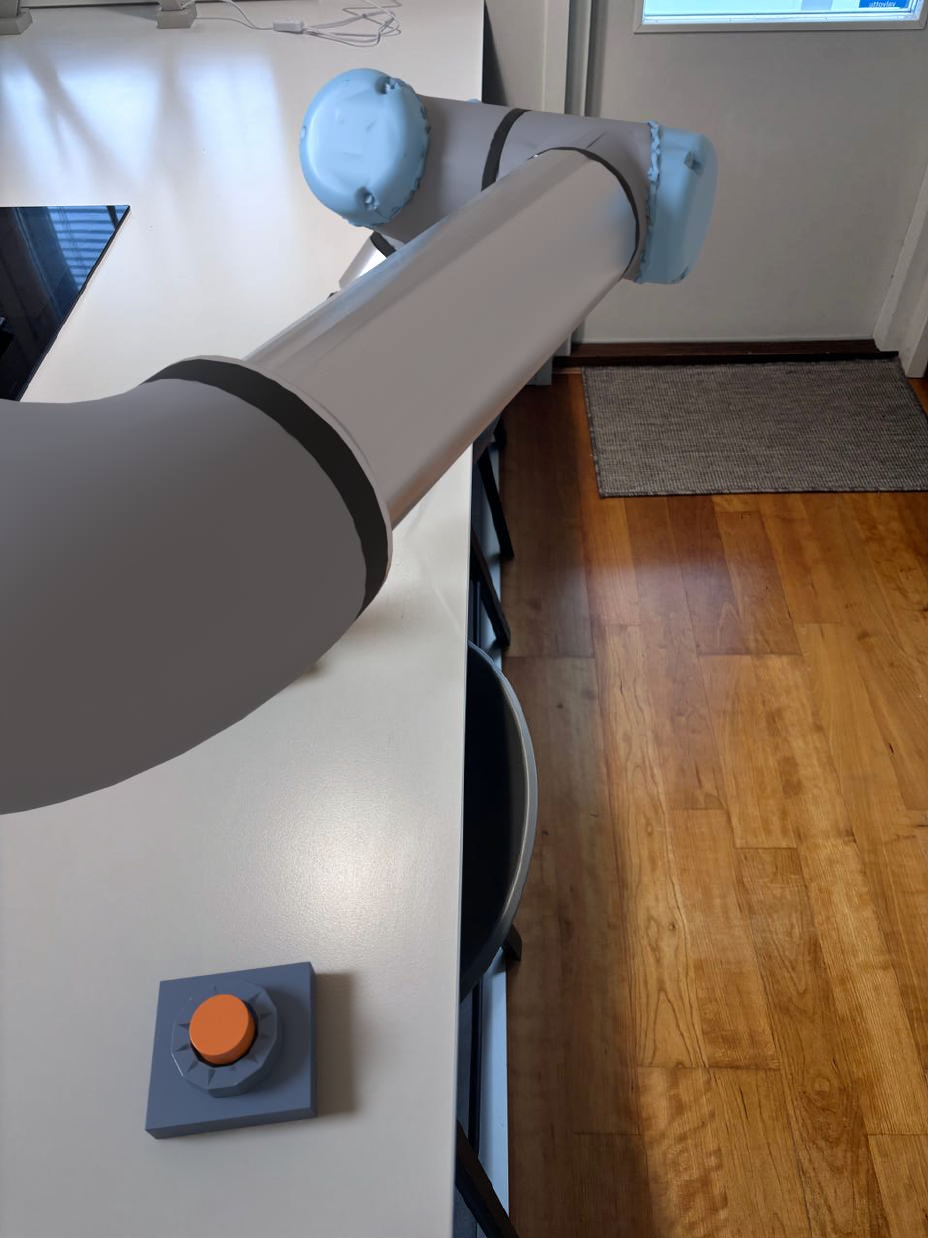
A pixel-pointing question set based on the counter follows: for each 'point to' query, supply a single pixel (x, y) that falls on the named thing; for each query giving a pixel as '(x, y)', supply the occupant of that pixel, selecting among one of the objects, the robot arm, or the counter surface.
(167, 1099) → the button box
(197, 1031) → the button
